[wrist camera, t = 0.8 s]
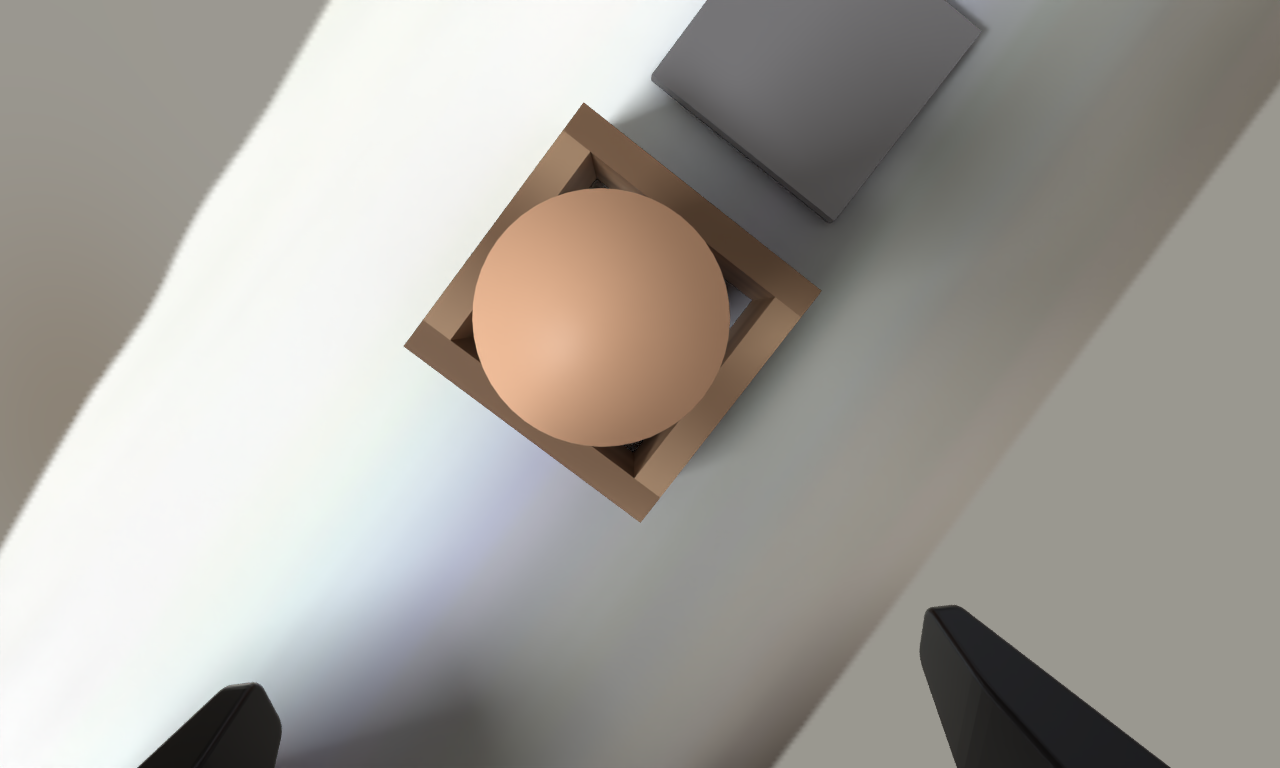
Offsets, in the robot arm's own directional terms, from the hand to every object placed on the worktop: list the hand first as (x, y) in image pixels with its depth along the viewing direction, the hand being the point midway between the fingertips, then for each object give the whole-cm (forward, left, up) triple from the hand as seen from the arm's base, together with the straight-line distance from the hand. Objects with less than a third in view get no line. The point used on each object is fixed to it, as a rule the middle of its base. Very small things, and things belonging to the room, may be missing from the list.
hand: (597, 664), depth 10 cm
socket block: (+5, -1, -16) cm, 17 cm away
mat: (+13, -9, -16) cm, 22 cm away
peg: (+5, -1, -16) cm, 17 cm away
